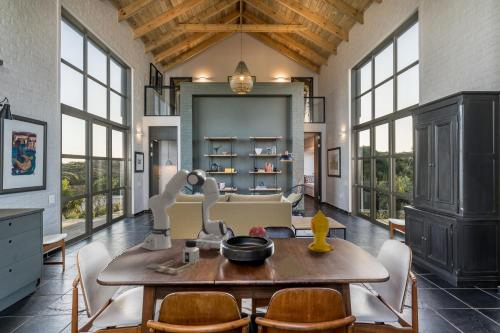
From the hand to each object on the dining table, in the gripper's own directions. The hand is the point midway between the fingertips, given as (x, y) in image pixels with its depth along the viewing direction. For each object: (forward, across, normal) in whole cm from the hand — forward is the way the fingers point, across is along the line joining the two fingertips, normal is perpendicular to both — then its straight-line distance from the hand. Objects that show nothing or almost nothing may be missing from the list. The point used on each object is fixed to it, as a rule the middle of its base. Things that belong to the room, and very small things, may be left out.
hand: (202, 246), depth 189 cm
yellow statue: (-54, +67, +7) cm, 86 cm away
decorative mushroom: (-41, +22, +7) cm, 47 cm away
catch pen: (+27, 0, +7) cm, 28 cm away
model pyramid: (+1, +60, +8) cm, 61 cm away
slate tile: (+30, -13, +7) cm, 34 cm away
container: (+12, 0, +7) cm, 14 cm away
